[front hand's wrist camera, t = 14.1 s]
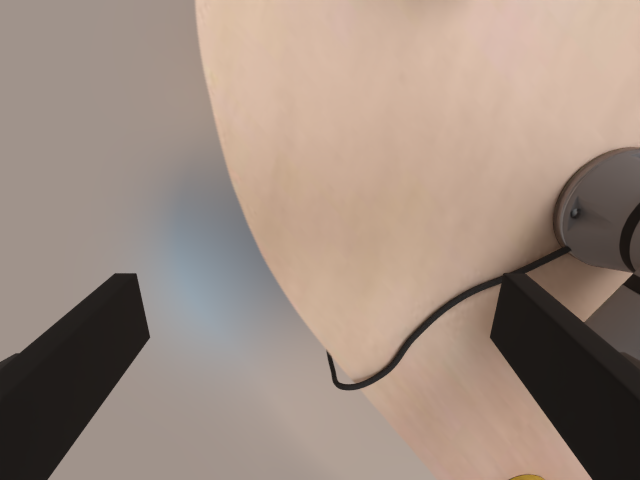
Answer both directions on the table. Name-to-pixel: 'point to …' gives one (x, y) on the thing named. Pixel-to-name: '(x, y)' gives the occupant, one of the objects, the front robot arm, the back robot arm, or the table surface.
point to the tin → (527, 477)
